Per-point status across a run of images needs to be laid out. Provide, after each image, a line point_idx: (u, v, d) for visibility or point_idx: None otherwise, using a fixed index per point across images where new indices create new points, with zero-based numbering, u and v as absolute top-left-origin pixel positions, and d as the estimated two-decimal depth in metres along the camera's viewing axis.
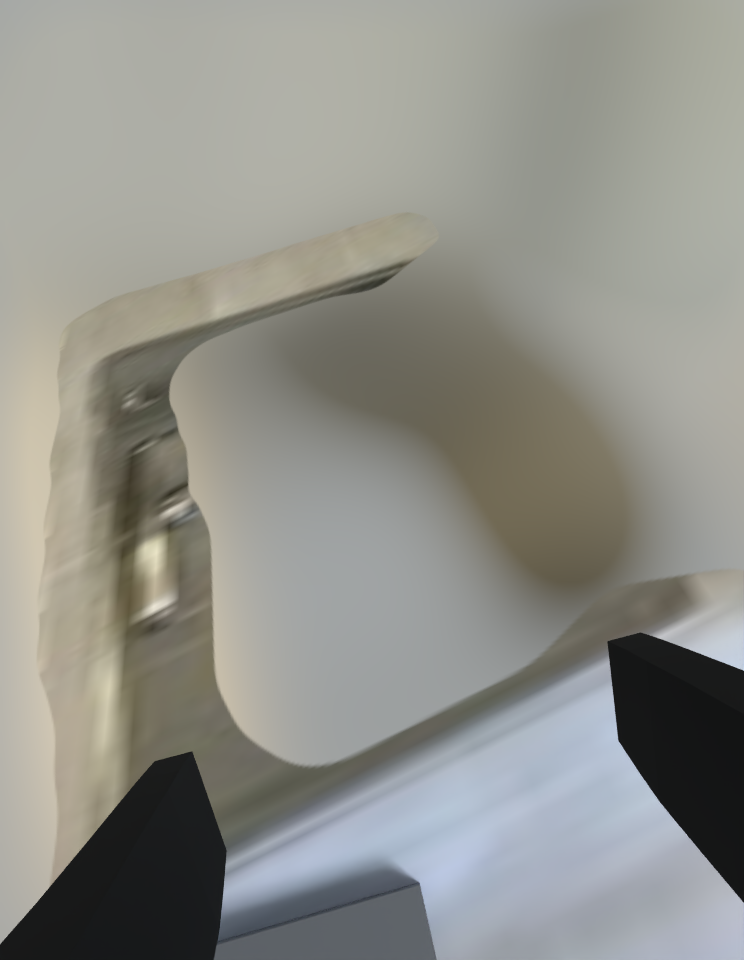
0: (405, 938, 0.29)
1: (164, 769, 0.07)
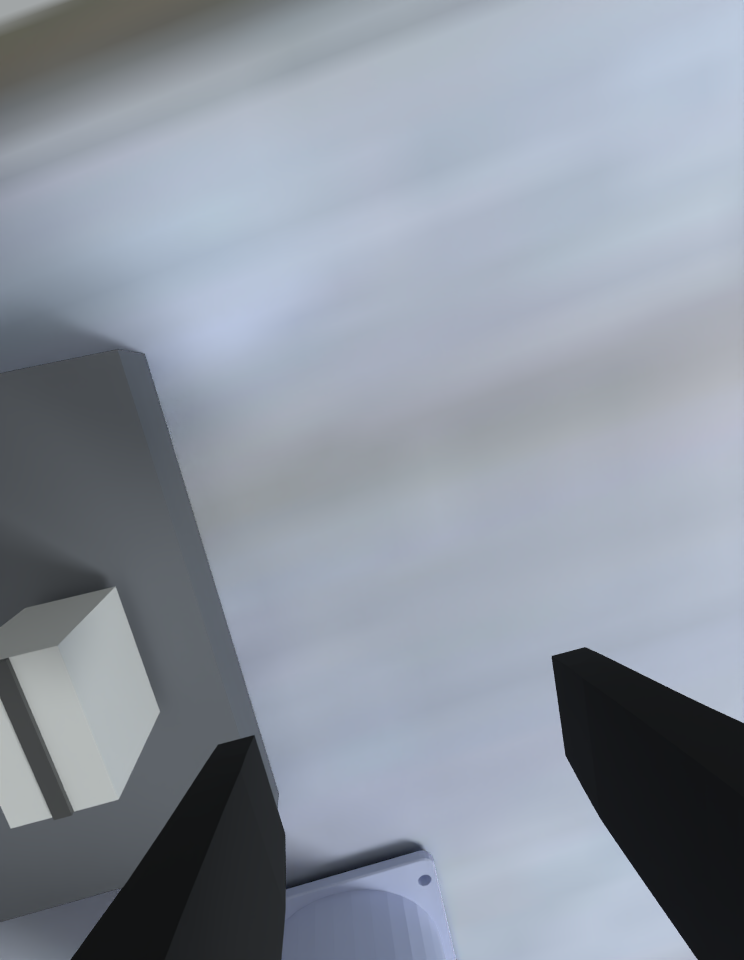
0: (86, 444, 0.13)
1: (230, 752, 0.07)
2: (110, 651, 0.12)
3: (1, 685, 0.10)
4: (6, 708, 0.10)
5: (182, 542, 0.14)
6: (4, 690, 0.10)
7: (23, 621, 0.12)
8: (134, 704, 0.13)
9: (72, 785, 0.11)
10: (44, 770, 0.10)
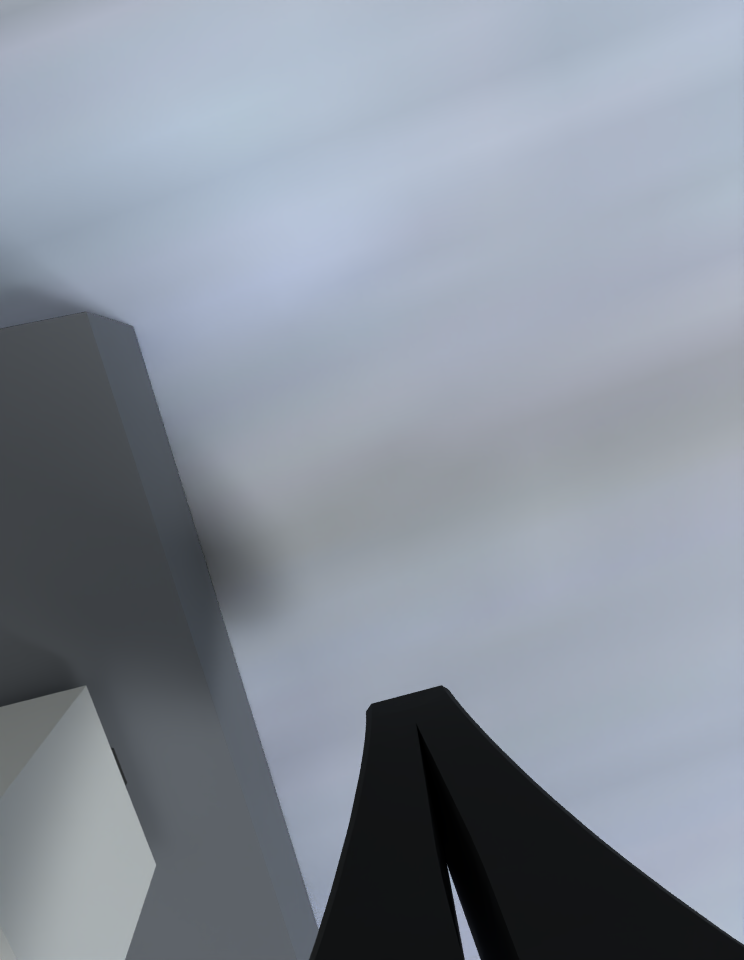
0: (37, 464, 0.08)
1: (392, 708, 0.07)
2: (74, 804, 0.07)
3: None
4: None
5: (189, 610, 0.09)
6: None
7: None
8: (115, 878, 0.08)
9: None
10: None
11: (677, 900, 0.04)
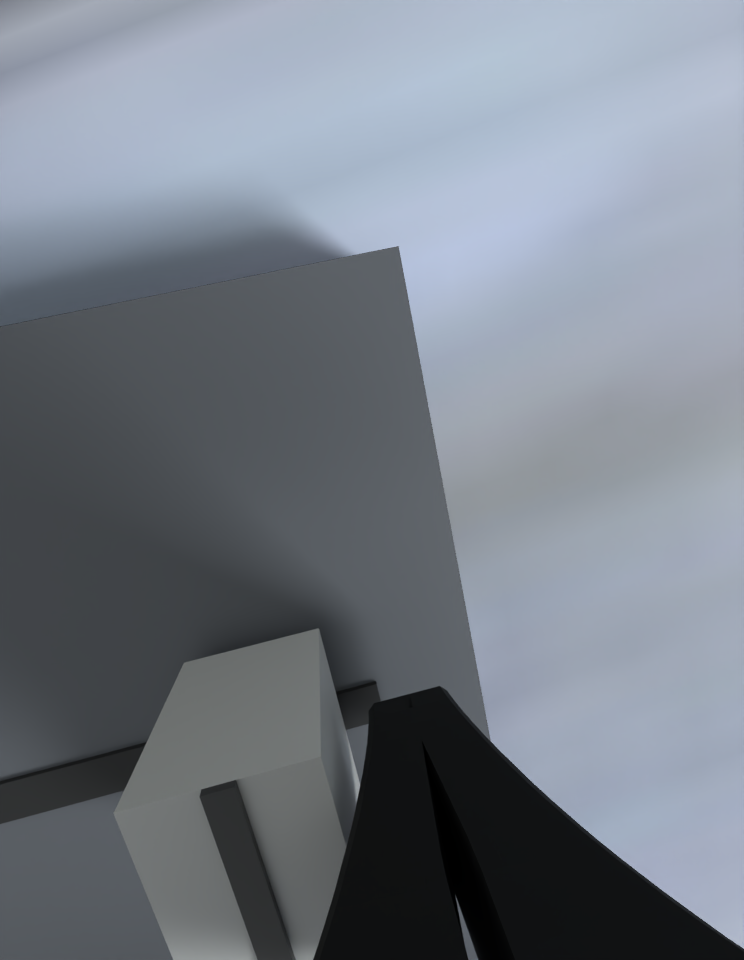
0: (337, 397, 0.08)
1: (394, 707, 0.07)
2: (337, 737, 0.08)
3: (221, 827, 0.06)
4: (225, 867, 0.06)
5: (450, 547, 0.09)
6: (223, 836, 0.06)
7: (202, 689, 0.07)
8: None
9: None
10: None
11: (673, 901, 0.04)
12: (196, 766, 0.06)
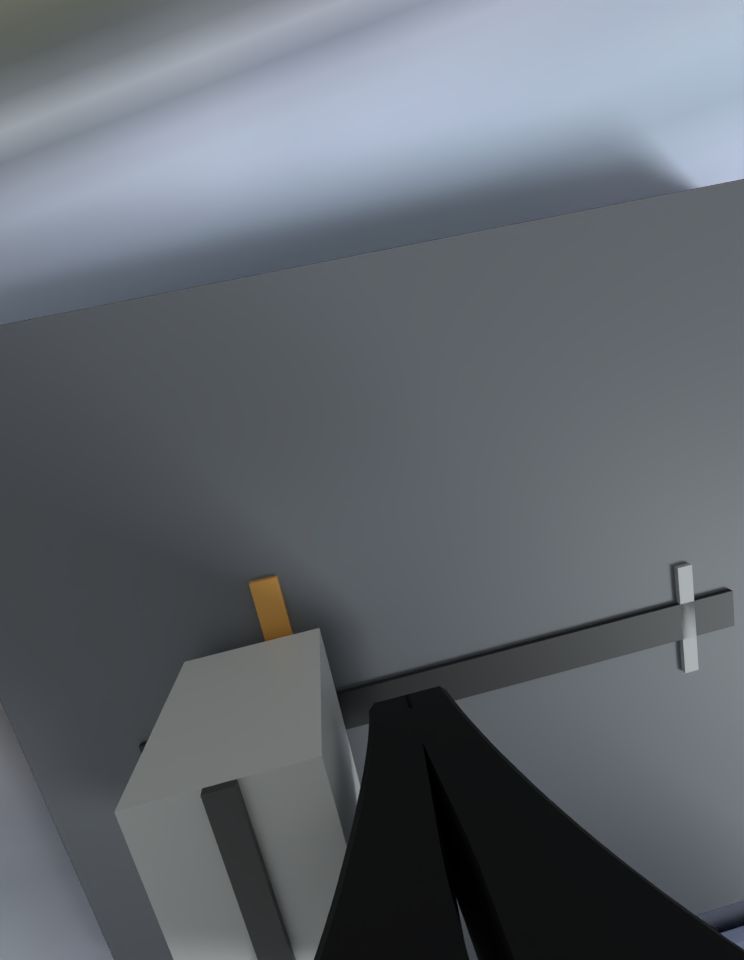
0: (741, 309, 0.09)
1: (394, 707, 0.07)
2: (337, 736, 0.08)
3: (221, 826, 0.06)
4: (226, 866, 0.06)
5: None
6: (224, 835, 0.06)
7: (202, 689, 0.07)
8: None
9: None
10: None
11: (673, 901, 0.04)
12: (197, 765, 0.06)
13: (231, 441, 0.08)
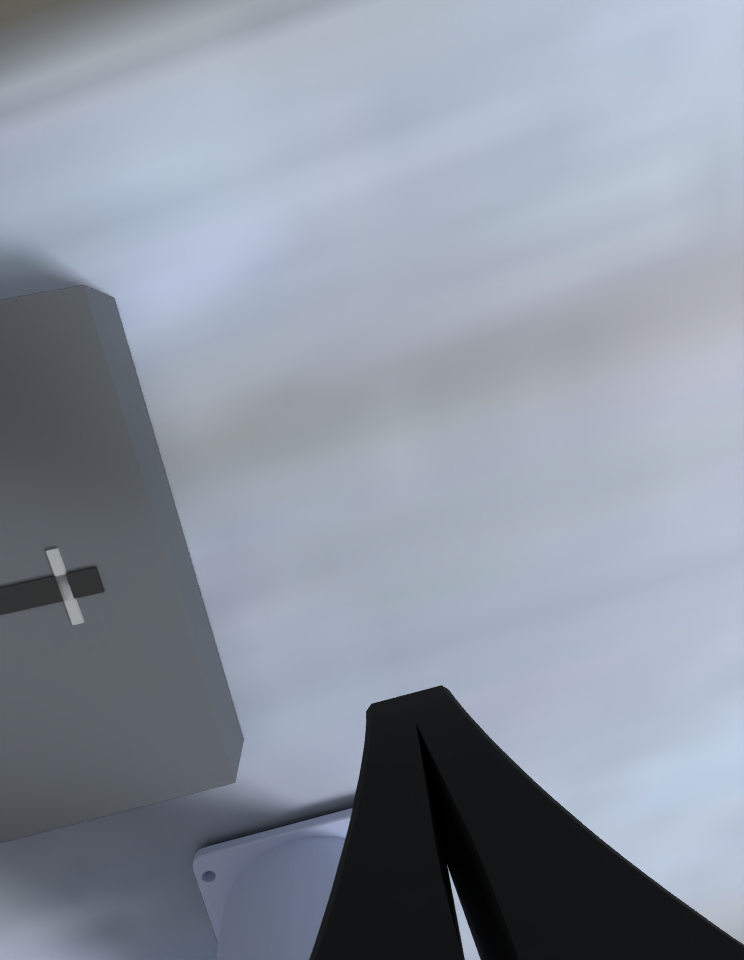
0: (52, 377, 0.13)
1: (392, 708, 0.07)
2: None
3: None
4: None
5: (146, 479, 0.14)
6: None
7: None
8: None
9: None
10: None
11: (677, 900, 0.04)
12: None
13: None
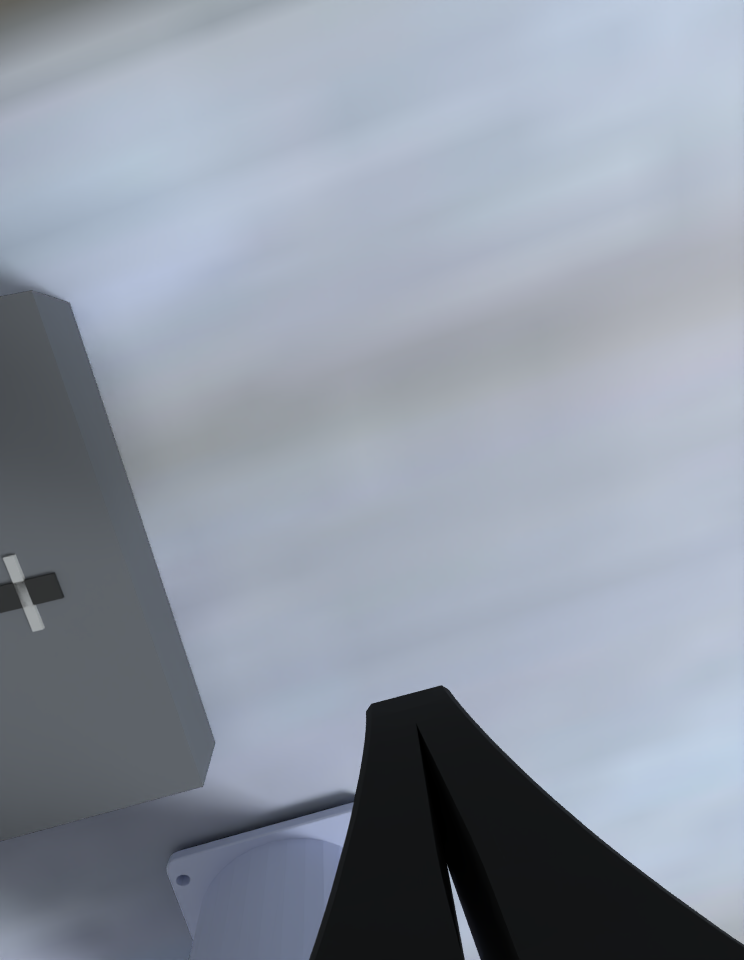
0: (3, 383, 0.13)
1: (392, 708, 0.07)
2: None
3: None
4: None
5: (103, 484, 0.14)
6: None
7: None
8: None
9: None
10: None
11: (677, 900, 0.04)
12: None
13: None
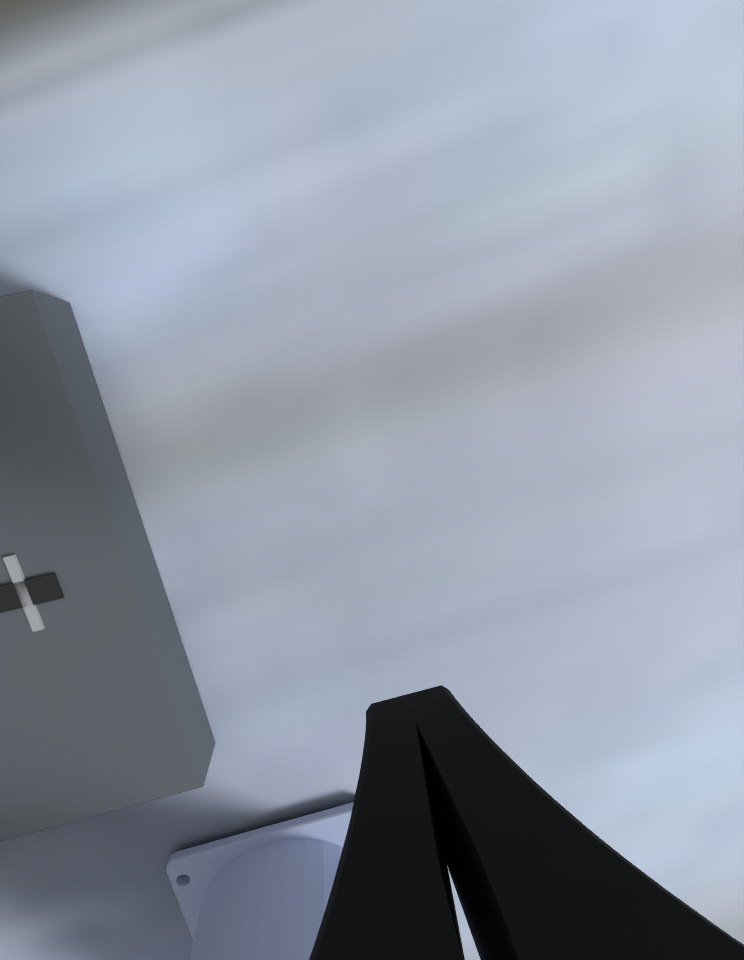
0: (3, 383, 0.13)
1: (392, 708, 0.07)
2: None
3: None
4: None
5: (103, 484, 0.14)
6: None
7: None
8: None
9: None
10: None
11: (677, 900, 0.04)
12: None
13: None
